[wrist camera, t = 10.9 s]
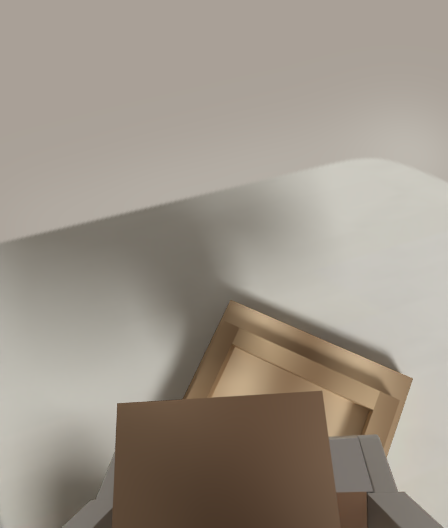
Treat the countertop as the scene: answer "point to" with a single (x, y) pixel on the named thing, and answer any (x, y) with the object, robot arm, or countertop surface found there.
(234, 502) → the brown block
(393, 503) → the robot arm
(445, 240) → the countertop surface
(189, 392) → the wooden tray stand
